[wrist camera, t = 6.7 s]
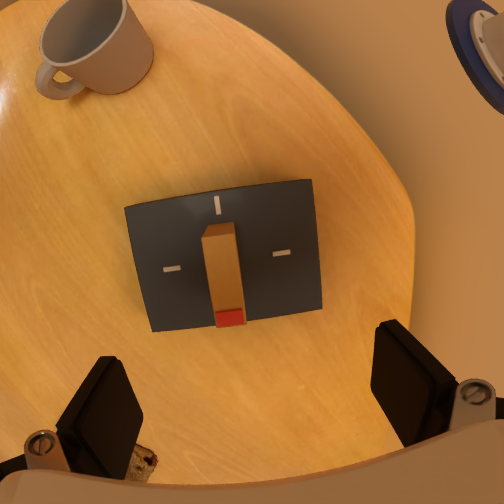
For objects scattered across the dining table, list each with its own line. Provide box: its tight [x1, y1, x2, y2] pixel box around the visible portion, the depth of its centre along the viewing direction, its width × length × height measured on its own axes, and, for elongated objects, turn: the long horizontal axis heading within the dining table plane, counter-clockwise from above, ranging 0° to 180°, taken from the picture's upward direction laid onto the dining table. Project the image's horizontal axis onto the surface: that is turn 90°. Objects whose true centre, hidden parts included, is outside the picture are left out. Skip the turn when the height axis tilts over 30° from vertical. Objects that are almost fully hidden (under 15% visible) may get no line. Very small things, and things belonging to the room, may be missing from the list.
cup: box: [35, 0, 153, 100], centre depth 18 cm, size 7×10×9 cm
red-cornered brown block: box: [201, 222, 247, 328], centre depth 21 cm, size 6×2×6 cm, turn 7°
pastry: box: [124, 444, 157, 483], centre depth 31 cm, size 17×17×3 cm
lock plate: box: [124, 179, 322, 332], centre depth 25 cm, size 15×11×3 cm
